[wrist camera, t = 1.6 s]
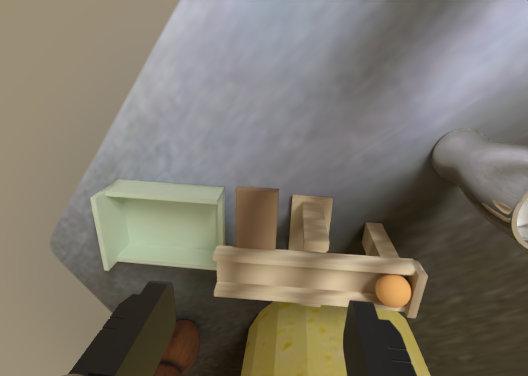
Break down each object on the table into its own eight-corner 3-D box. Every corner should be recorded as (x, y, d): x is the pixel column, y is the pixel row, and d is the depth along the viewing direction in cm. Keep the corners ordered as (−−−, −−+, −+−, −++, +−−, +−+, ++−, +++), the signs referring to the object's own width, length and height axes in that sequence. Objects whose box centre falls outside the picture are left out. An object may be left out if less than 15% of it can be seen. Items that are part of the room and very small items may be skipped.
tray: (118, 179, 41) (90, 197, 35) (224, 186, 40) (213, 207, 34) (128, 244, 44) (104, 270, 39) (225, 252, 43) (215, 280, 38)
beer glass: (433, 190, 37) (514, 267, 23) (421, 136, 35) (503, 186, 21) (496, 172, 36) (624, 242, 22) (488, 114, 33) (624, 152, 20)
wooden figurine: (187, 307, 48) (143, 406, 34) (212, 331, 49) (179, 436, 35) (158, 325, 50) (104, 425, 36) (182, 347, 51) (140, 452, 38)
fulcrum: (386, 201, 38) (413, 244, 29) (373, 263, 42) (394, 319, 33) (292, 194, 39) (291, 234, 30) (287, 255, 43) (285, 308, 34)
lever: (428, 197, 29) (445, 214, 26) (403, 293, 33) (415, 318, 30) (216, 185, 30) (208, 199, 27) (219, 279, 34) (212, 301, 31)
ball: (373, 266, 31) (387, 288, 28) (404, 266, 31) (421, 288, 28) (368, 292, 32) (380, 315, 29) (398, 291, 32) (413, 315, 29)
